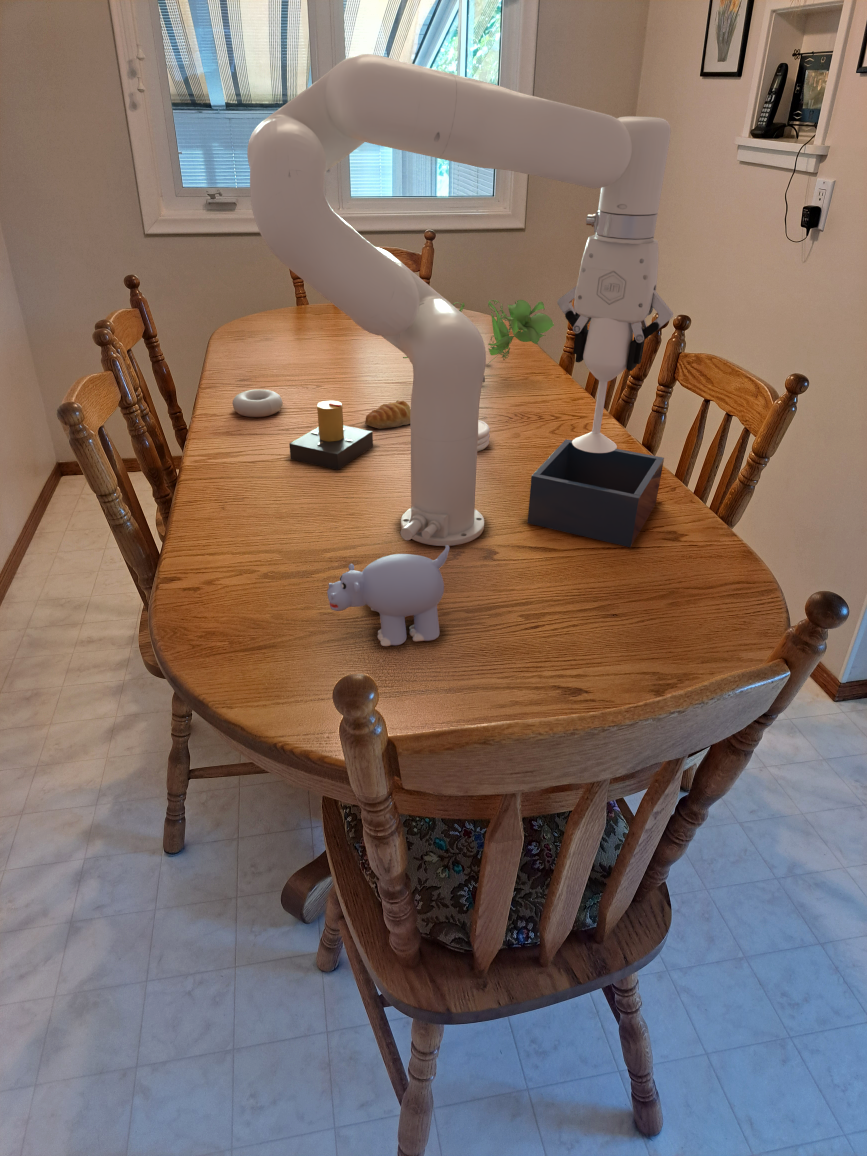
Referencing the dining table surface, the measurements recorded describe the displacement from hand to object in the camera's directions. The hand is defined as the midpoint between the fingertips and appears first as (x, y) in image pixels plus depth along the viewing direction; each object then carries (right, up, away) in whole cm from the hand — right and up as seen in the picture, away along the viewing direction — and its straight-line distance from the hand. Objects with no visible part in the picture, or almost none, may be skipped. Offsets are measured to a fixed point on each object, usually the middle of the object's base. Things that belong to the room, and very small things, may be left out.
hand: (605, 363), depth 110 cm
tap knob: (-43, -5, +29) cm, 52 cm away
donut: (-60, +4, +49) cm, 78 cm away
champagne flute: (0, -11, +7) cm, 12 cm away
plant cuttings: (-17, +15, +67) cm, 71 cm away
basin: (+1, -20, +12) cm, 24 cm away
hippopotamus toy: (-30, -36, -13) cm, 48 cm away
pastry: (-33, 0, +44) cm, 55 cm away
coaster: (-19, -5, +35) cm, 41 cm away
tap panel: (-43, -8, +31) cm, 53 cm away
